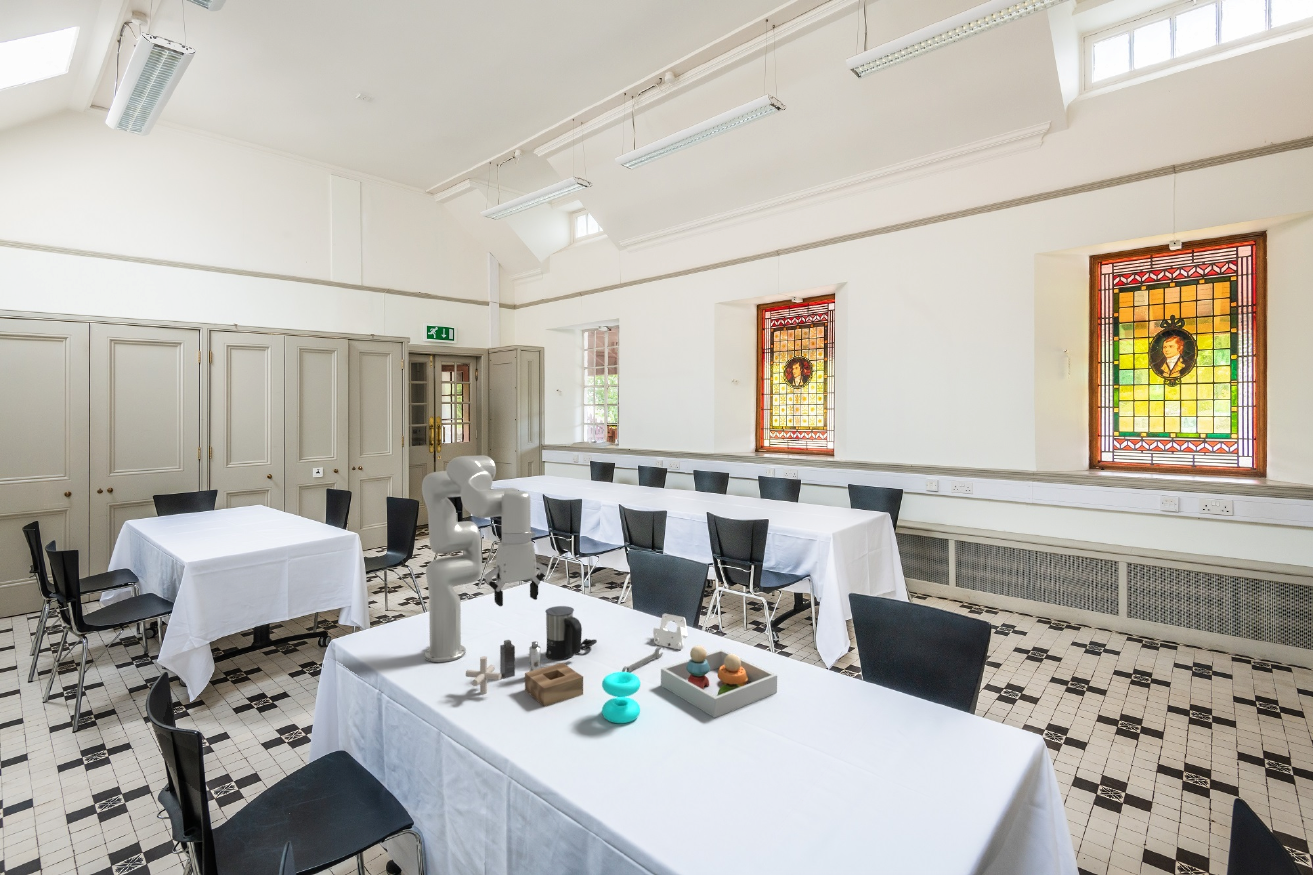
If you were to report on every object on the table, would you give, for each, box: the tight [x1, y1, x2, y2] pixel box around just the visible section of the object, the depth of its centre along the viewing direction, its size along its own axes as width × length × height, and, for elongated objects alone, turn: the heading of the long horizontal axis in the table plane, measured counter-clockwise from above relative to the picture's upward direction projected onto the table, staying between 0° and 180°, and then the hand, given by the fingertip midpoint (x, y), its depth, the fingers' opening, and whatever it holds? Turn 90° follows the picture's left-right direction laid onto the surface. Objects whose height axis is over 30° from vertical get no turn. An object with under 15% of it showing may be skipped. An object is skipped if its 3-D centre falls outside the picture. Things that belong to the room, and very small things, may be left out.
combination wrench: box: [621, 646, 664, 673], centre depth 189 cm, size 4×1×20 cm
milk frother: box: [545, 605, 598, 661], centre depth 199 cm, size 14×16×15 cm
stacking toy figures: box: [686, 645, 748, 696], centre depth 174 cm, size 18×17×12 cm
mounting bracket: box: [652, 613, 689, 650], centre depth 208 cm, size 12×6×11 cm, turn 60°
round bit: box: [528, 641, 541, 672], centre depth 180 cm, size 3×3×10 cm
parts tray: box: [660, 649, 778, 719], centre depth 174 cm, size 23×24×5 cm
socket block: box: [524, 662, 584, 707], centre depth 170 cm, size 12×12×5 cm
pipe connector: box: [465, 656, 502, 695], centre depth 170 cm, size 10×10×10 cm
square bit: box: [499, 639, 516, 679], centre depth 181 cm, size 3×3×10 cm
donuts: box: [601, 671, 641, 724], centre depth 158 cm, size 10×10×10 cm
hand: (516, 601), depth 161 cm, fingers open, 9 cm apart
